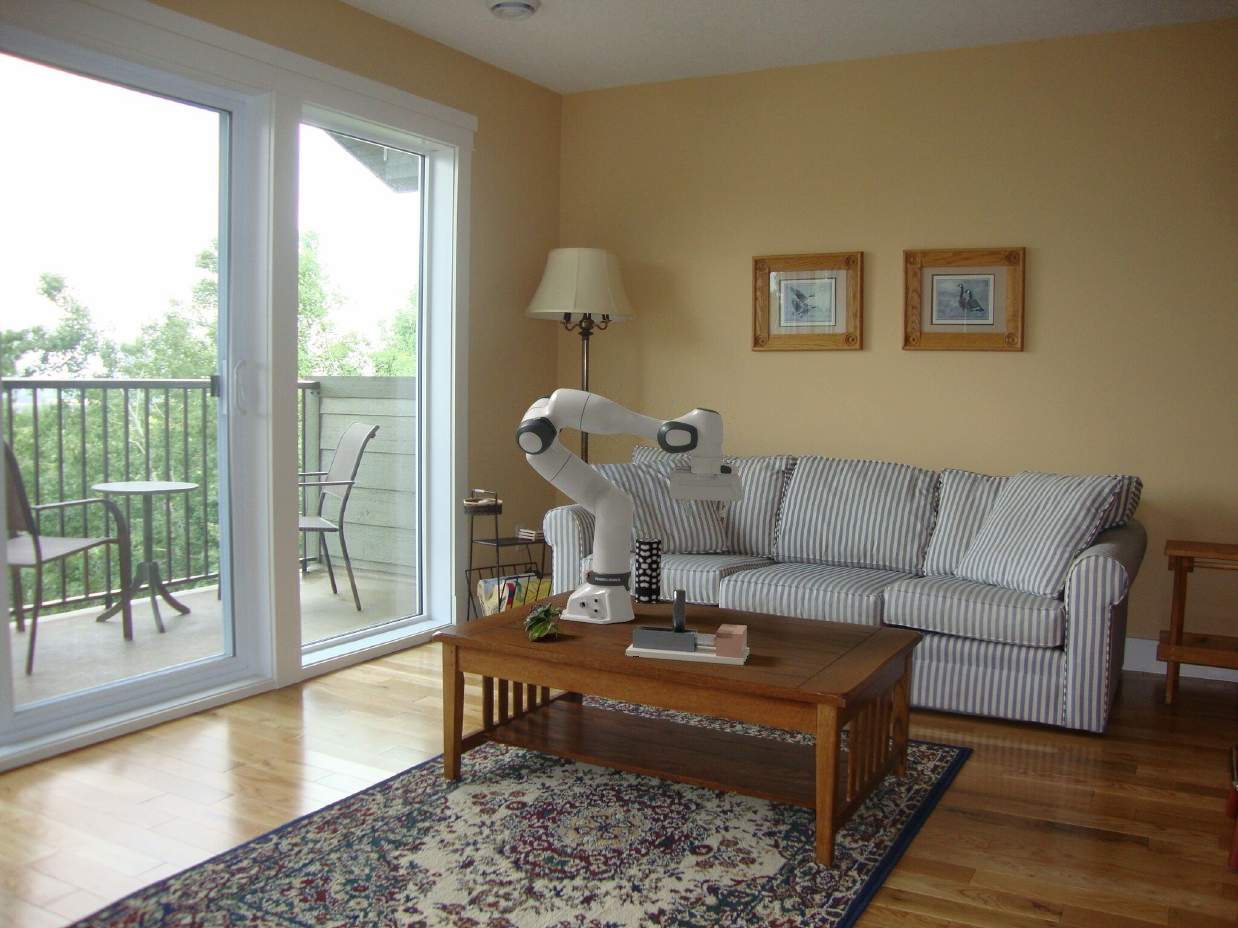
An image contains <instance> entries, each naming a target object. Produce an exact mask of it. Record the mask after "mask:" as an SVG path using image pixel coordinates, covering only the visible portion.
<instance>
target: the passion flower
mask: <svg viewBox="0 0 1238 928" xmlns="http://www.w3.org/2000/svg"><path fill="white" fill-rule="evenodd" d="M554 608H555V606H554V605H553V603H552V602H549V603H548V604H543V603H535V605H533V604H532V605H531V606H530V609H529V615H527V617H526V619H525V620H526V621H523V625H524V626H526V628H525V631H524V632H526V633H528V632H529V634H528V639H529V641H530V642H532V640H535V639H537V638H539V637H540V638H542V637H544V636H545V635H548V632H549V631H551V630H553V631H554V633H555V639H556V638H557V639H558V634H562V631H561V630H560V628H559V624H560V620H561V619H560V617H561V615H562V612H563V608H562V607H561V606H560V607H557V608H555V610H556V611H554ZM559 614H560V616H559ZM556 616H557V617H558V620H557V622H556V623H555V622H554V621H553V618H554V617H556Z"/></svg>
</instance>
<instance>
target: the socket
mask: <svg viewBox="0 0 1238 928" xmlns="http://www.w3.org/2000/svg"><path fill="white" fill-rule="evenodd" d="M715 635H716V656H722V657H735V658H742V656H743V654H744V652H745V650H746V648H748V646H747V645H748V644H747V642H748V640H747V638H748V636H747V635H748V625H743V624H742V625H741V624H730V623H722V624H721V625H720V627H718V629H717V631H716V633H715Z"/></svg>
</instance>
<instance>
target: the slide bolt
mask: <svg viewBox="0 0 1238 928" xmlns="http://www.w3.org/2000/svg"><path fill="white" fill-rule="evenodd" d="M672 594H673V595H672V598H673V599H672V628H673V632H680V633H686V632H685V629H686V607H687V606H686V602H687V601H686V600H687V598H686V597H687V595H686V594H687V590H685V589H681V588H679V589H673V591H672ZM671 632H672V631H671ZM694 634H695V643H694V646H704V647H716V634H713V633H699V632H698V633H694Z"/></svg>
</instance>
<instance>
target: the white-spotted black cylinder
mask: <svg viewBox="0 0 1238 928" xmlns="http://www.w3.org/2000/svg"><path fill="white" fill-rule="evenodd" d="M634 557H635V563H634V565H635V566H634V568H635V570H634V571H635V572H634V602H635V601H636V602H635V603H637V602H639V603H638V604H643V603H654V604H658V603H661V592H662V591H661V590H662V589H661V587H662V586H661V580H662V579H661V578H662V577H661V576H662V575H661V574H662V539H659V538H654V537H653V538H652V537H651V538H647V537H646V538H645V537H644V538H643V537H642V538H641V537H640V538H636V539H635V556H634Z"/></svg>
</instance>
